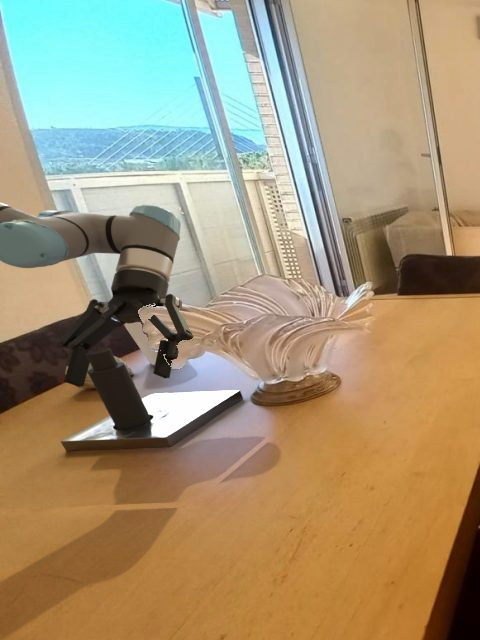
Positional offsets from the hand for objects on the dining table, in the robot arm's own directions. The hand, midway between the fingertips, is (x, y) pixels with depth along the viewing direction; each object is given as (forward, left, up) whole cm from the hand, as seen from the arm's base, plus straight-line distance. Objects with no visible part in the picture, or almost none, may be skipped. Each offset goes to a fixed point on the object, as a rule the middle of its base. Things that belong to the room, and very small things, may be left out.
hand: (118, 380), depth 84 cm
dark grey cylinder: (0, -1, -10) cm, 10 cm away
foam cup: (-25, +35, -10) cm, 44 cm away
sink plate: (+2, +2, -10) cm, 11 cm away
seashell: (-28, +22, -10) cm, 37 cm away
